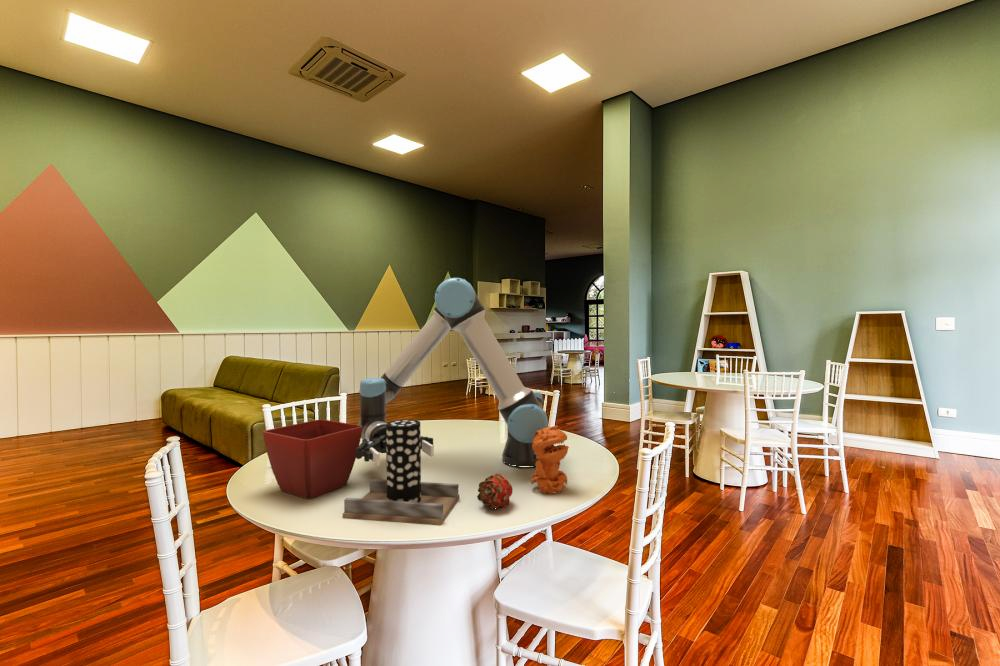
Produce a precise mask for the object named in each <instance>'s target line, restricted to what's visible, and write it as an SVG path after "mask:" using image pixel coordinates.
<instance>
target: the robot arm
mask: <svg viewBox="0 0 1000 666" xmlns="http://www.w3.org/2000/svg"><path fill="white" fill-rule="evenodd" d="M434 303H435V307H434V308H433V310H432V311H433V315H431V317H430V318H429V319H428V320H427V322H426V323H425V324H424V325H423V326H422V328H421V329H420V330H419V331H418V332H417V334H415V336H414V337H413V338H412V340H411V341H410V342H409V343H408V344H407V345H406V347H405V348H404V349H403V350H402V351H401V353H400V354H399V355H398V356H397V357H396V358H395V360H394V361H393V362H392V364H390V366H389V367H388V368H387V369H386V371H384V373H383V374H382V375H381V377H368V378H363V379H361V380H360V383H359V391H358V392H359V413H360V414H359V422H358V424H357V425H360V426H363V427H362V434H361V439H362V440H361V442H360V444H359V446H358V447H357V448H356V459H357V460H360V459H362V458H364V459H363V461H364V462H369V461H371V462H373V464H374V465H375V466H378V467H379V466H380V465H381V457H380V456H381V454H386V423H387V411H386V410H387V407H386V406H387V404H388V403H390V402H392V401H393V400H394V399H395V398H396V397H397V396H398V393H399V392H400V391H401V390H402V388H403V387H404V386H405V385H406V383H407V382H408V381H409V380H410V379H411V377H412V376H413V375H414V374H415V373H416V371H417V370H418V369H419V368H420V367H421V366H422V365H423V363H424V362H425V361H426V359H428V357H429V356H430V355H431V354H432V352H433V351H434V350H435V349H436V348H437V347H438V345H439V344H440V343H441V342H442V341H443V340H444V338H445V337H446V336H447V335H448V334H449V333H450V331H451V330H452V331H454V332H457V333H459V334H460V336H461V338H462V339H463V341H464V343H465V345H466V346H467V348H468V350H469V351H470V353H471V355H472V357H473V358H474V360H475V361H476V364H477V365H478V367H479V368H480V370H481V372H482V373H483V375H484V377H485V379H486V381H487V382H488V384H489V385H490V387H491V389H492V391H493V392H494V395H495V396H496V398H497V399H498V407H497V409H498V411H499V413H500V415H501V416H502V418H503V420H504V422H505V423H506V425H507V428H506V429H507V438H506V440H505V445H504V448H503V452H502V457H501V458H502V460H503V461H502V460H501V461H502V463H503V462H505V463H507V464H510V465H516V466H535V463H536V461H539V460H538V459H536V455H535V454H534V451H533V449H532V448H533V447H532V442H533V437H534V435H535V432H536V431H539V430H541V429H544V428H546V427H549V426H548V425H549V423H548V422H549V418H548V415H547V413H546V412H545V410H544V407H543V402H544V398H543V395H542V392H539V391H533V390H532V389H531V388H529V387H526V386H524V384H523V383H522V381H521V379H520V377H519V375H518V374H517V372H516V370H515V369H514V367H513V365H512V364H511V362H510V360H509V358H508V357H507V355H506V353H505V352H504V350H503V348H502V346H501V345H500V343H499V341H498V340H497V338H496V336H495V334H494V333H493V331H492V330H491V328H490V326H489V324H488V323H487V320H486V319H485V314H486V309H485V307H484V306H483V304H482V301H481V300H480V299H479V297H478V295H477V293H476V290H475V289H474V287H473V286H472V284H471V283H470V282H468V281H467V280H466V279H465V278H460V277H450V278H447V279H445V280H443V281H442V282H441V283H440V284H439V285H438V287H437V288H436V290H435V293H434ZM535 437H536V436H535ZM534 439H535V438H534ZM434 448H435V447H434V438H433V437H428V436H422V435H421V452H423V453H424V454H426V455H428V456H429V457H431V458H434V457H435V455H434V454H435V452H434V451H435V450H434ZM356 459H355V460H356ZM540 462H541V461H540ZM505 463H504V464H505ZM507 464H506V465H507Z"/></svg>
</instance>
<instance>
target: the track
mask: <svg viewBox="0 0 1000 666" xmlns="http://www.w3.org/2000/svg"><path fill="white" fill-rule="evenodd" d="M458 499H460V494H459V483H448V482H447V483H443V482H429V481H427V482H426V481H425V482H424V481H421V502H405V501H390V500H387V479H377V478H375V479H373V478H372V479H370V480H369V492H368V493H367V494H365V495H364V496H363V497H362V498H359V497H358V498H355V497H345V499H344V501H343V502H344V503H343V504H344V505H343V506H344V507H343V509H344V512H343V513H342V518H343V519H354V520H355V519H356V520H367V521H368V520H371V521H382V522H397V523H398V522H399V523H409V524H411V523H412V524H423V525H435V526H436V525H437V526H441V525H442V524H443V523H444V521H445V520H446V518H447V516H448V515H449V514H450V512H451V511H452V509H453V508H454V506H455V505H457V503H458V501H459V500H458Z"/></svg>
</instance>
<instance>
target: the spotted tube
mask: <svg viewBox="0 0 1000 666" xmlns="http://www.w3.org/2000/svg"><path fill="white" fill-rule="evenodd" d="M421 434H422V433H421V421H420V420H416V419H396V420H391V421H388V422H386V453H385V455H386V463H385V464H386V466H385V467H386V480H387V500H390V501H405V502H421V482H422V469H421V467H422V465H421V463H422V459H421V458H422V456H421V455H422V453H421V452H422V449H421V436H422V435H421Z"/></svg>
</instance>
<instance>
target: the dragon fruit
mask: <svg viewBox="0 0 1000 666" xmlns="http://www.w3.org/2000/svg"><path fill="white" fill-rule="evenodd" d="M477 492H478V494H477V495H476V497H477V500H478V501H480V502H482V504H483V505H485V506H487V507H488V508H490V509H492V510H494V509H495V508H496V510H498V509H499V508H500V506H501V507H505V506H506V507H508V506H509V504H510V498H511V496H512V495H513V486H512V484H511V483H510V482H509V480H507V478H505V477H504V476H503V475H502V474H500V473H495V474H494V475H489V476H487V477H486V478H485V480H484V481H481V482H479V483H478V489H477Z"/></svg>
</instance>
